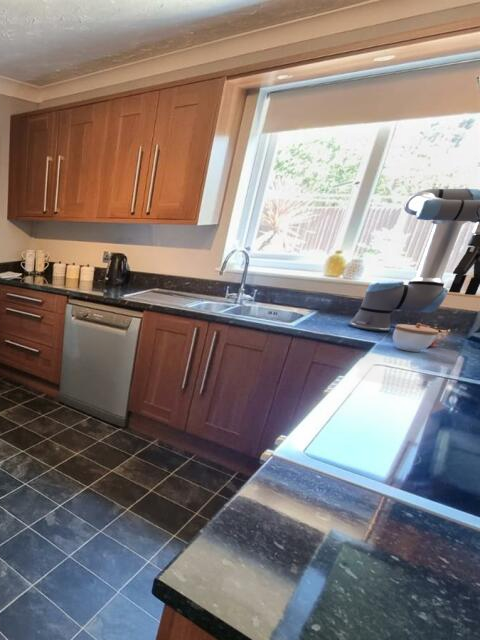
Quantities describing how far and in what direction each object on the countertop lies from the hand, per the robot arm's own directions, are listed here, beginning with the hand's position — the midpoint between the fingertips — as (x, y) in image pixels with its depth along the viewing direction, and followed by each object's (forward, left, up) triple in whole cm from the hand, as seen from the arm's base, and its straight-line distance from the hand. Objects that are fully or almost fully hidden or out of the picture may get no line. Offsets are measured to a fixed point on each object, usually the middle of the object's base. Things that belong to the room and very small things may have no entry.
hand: (461, 293), depth 161 cm
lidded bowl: (+4, -7, -25) cm, 26 cm away
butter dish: (-9, -17, -25) cm, 31 cm away
